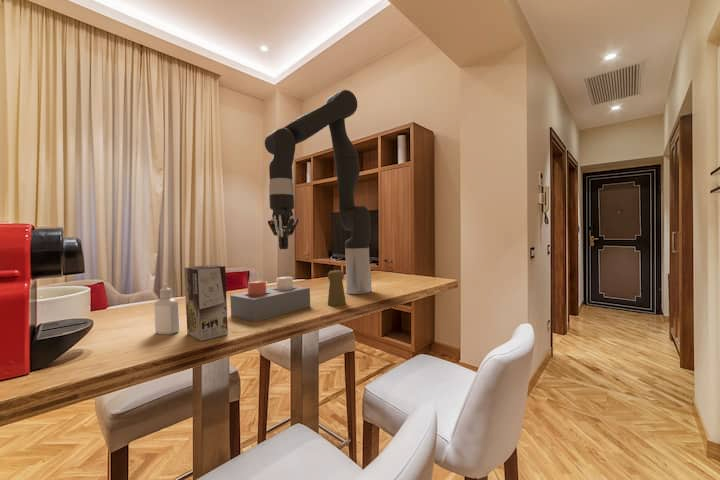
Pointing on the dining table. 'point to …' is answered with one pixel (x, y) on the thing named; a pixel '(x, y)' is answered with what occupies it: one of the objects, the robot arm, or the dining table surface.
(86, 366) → the dining table surface
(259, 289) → the red plunger
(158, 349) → the dining table surface
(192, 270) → the coffee box
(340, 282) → the cork
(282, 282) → the white rounded block
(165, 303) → the eye dropper bottle
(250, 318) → the console
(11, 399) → the dining table surface
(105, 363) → the dining table surface
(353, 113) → the robot arm
